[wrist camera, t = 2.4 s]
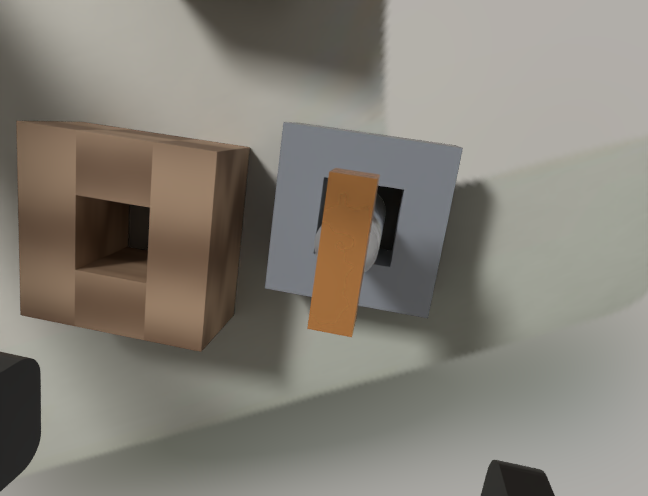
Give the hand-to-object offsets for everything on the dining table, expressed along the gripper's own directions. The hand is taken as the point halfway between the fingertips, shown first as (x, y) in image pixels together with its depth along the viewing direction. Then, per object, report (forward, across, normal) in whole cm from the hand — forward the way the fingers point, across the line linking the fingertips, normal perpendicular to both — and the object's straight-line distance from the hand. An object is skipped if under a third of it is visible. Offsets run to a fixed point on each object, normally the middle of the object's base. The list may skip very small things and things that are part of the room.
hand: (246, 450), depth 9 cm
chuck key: (+25, 0, 0) cm, 25 cm away
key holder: (+25, 0, 0) cm, 25 cm away
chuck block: (+25, +14, +3) cm, 29 cm away
